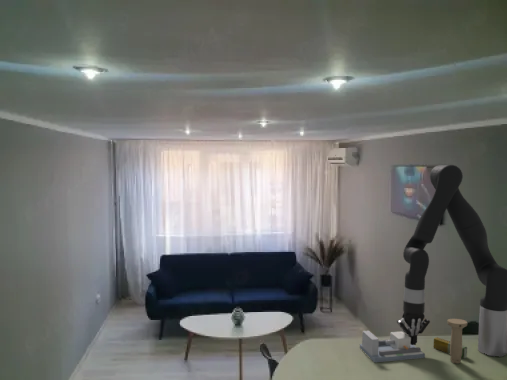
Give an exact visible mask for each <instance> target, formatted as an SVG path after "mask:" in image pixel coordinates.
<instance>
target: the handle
mask: <svg viewBox="0 0 507 380" xmlns="http://www.w3.org/2000/svg"><path fill="white" fill-rule="evenodd" d="M446 323H447V325H448V326H450V327H451V333H450V354H449V355H450V359H449V360H450V362H451V363H453V364H460V363H461V362H462V358H461V356H462V346H463V329H464V328H466V327H468V321H467V320H464V319H461V318H449V319H447V321H446Z"/></svg>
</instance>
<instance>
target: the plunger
mask: <svg viewBox="0 0 507 380" xmlns="http://www.w3.org/2000/svg"><path fill="white" fill-rule="evenodd" d="M385 340H386V345H390V346H391V347H393V348H394V349H408V348H410V344H411V338H410V337H409V336H408V334H406V333H405V332H404V331H403V330H402V331H391V332H390V333H389V339H385Z"/></svg>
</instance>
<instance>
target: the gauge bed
mask: <svg viewBox="0 0 507 380" xmlns="http://www.w3.org/2000/svg"><path fill="white" fill-rule="evenodd" d="M361 333H362V335H361V337H362V338H361V339H362V340H361V343H360V344H359V349H360V348H361V349H362V350H363V351H364V352H365V353H366V354H367V355H368V356H369V357H370V358H369V357H368V358H369V359H370V360H371V361H373V363H379V362H380V363H381V362H383V363H384V362H393V361H403V360H405V361H406V360H414V359H425V358H426V353H425V352H423V351H422V350H421V347H417V346H416V345H411V344H410V348H408V349H394V348H393V347H391V346H390V345H386V340H387V339H380V340H379V338H378V337H377V336H376V335H375V334H374V333H372V332H371V331H370V330H362V332H361ZM361 349H360V350H361ZM362 350H361V351H362ZM363 351H362V352H363ZM364 352H363V353H364ZM365 353H364V354H365ZM366 354H365V355H366ZM367 355H366V356H367Z"/></svg>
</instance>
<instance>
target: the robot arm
mask: <svg viewBox="0 0 507 380" xmlns="http://www.w3.org/2000/svg"><path fill="white" fill-rule="evenodd" d="M429 179H430V182H431V185H432V186H433V188H434V189H435V192H434V193H433V197H432V199H431V200H430V202H429V204H428V205H427V206H426V208H425V209H424V211H423V212H422V214H421V215H420V217H419V219H418V221H417V224H416V227H415V230H414V233H413V234H412V236H411V237H410V239H408V241H407V243H406V245H405V247H404V249H403V251H402V252H403V253H402V254H403V260H405V262H406V263H408V264H409V269H408V270H409V271H407V272H406V273H405V277H404V290H403V300H402V301H403V304H402V305H403V307H402V309H403V310H402V311H403V314H402V316H401V318H400V319H397V320H396V323H397V324H398V326H399V327H400V328H401V330H402V332H404V333H405V334H406V335H408V336H409V337H410V338H411V345H414V346H416V345H417V343H418V335H420V334H423V332H424V331H425V330H426V328H427V327H429V326H428V325H429V324H430V323H431V321H430V319H428V318H426V316H425V308H426V307H425V305H426V293H425V291H426V290H425V285H426V276H427V274H428V273H427V272H428V268H429V265H430V256H429V254H428V252H427V251H426V250H425V248H426V246H427V244H431V243H433V240H434V239H435V236H436V233H437V231H438V228H439V226H440V223H441V221H442V219H443V216H444V214H445V212H446V210H447V213H448V215H449V218H450V219H451V221H452V224H453V227H454V228H455V230H456V232H457V235H458V237H459V238H460V240H461V242H462V243H463V246H464V247H465V249H466V252H467V253H468V254H469V257H470V259H471V261H472V264H473V266H474V269H475V273H476V275H477V278H478V280H479V281H480V283H481V284H482V285H484V286H485V294H484V296H482V297H481V298H480V300H479V317H478V318H479V319H478V320H479V321H478V338H477V350H478V352H480V353H482V354H484V353H485V354H484V355H486V354H487V356H489V357H495V356H499V357H500V358H501V357H504V356H506V355H507V268H506V267H503V266H501V265H499V264H498V263H497V261H496V260H495V259H494V256H493V254H492V253H491V250H490V249H489V243H488V234H487V229H486V226H484V223H483V221H482V219H481V217H480V216H479V214H478V212H477V211H476V210H475V209H474V207H473V206H472V205H471V204H470V203H469V202H468V201H467V199H466V198H465V197H464V196H463V194H462V192H461V191H460V189H459V187H460V185H461V184H462V182H463V172H462V170H461V168H460V167H458V166H457V165H454V164H439V165H436V166H434V167H433V168H432V169H431V171H430V174H429ZM499 357H498V358H499Z"/></svg>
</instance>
